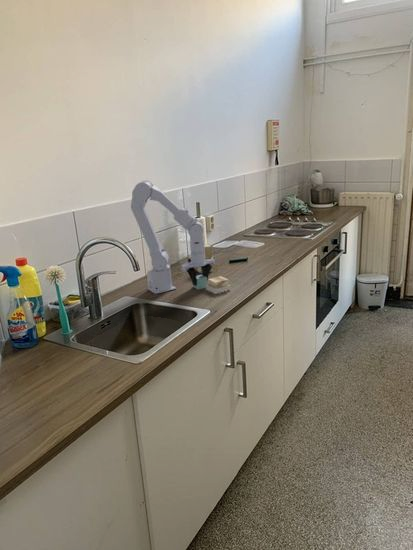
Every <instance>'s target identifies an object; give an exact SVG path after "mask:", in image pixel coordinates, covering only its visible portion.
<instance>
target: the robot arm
mask: <svg viewBox="0 0 413 550" xmlns="http://www.w3.org/2000/svg"><path fill="white" fill-rule="evenodd" d="M131 193H132V196H131V197H132V198H131V203H130V210H131V212H132V214H133V216H134V218H135V221H136V222H137V225H138V228H139V229H140V231H141V234H142V236H143V238H144V241H145V243H146V245H147V247H148V249H149V255H150V258H151V266H152V269H151V270H148V271H147V273H146V279H147V287H148V288H147V290H149V292H151V293H152V294H155V295H156V294H160V293H161V294H162V293H165V292H169V291H173V290H174V291H175V290H176V289H177V287H176V286H173V283H172V272H171V265H170V264H169V262H170V254H169V252H168V251H167V250H165V248H164V246H163V244H161V242H160V239H159V237H158V235H157V232H156V231H155V228H154V225H153V224H152V221H151V220H150V217H149V214H148V212H147V210H146V208H145V207H146V205H147V202H148V200H150V201H153V202H154V201H156V202H158V203H160V204H161V206H163V207H164V208H165V209H167V211H169V212H170V213H171V214H173V220H174V221H175V222H177V224H179V225H180V226H181V227H182V228H183V229H184V230H186V231H188V235H189V239H190V240H189V247H190V262H187V263H184V264H181V271H185V272H186V273H188V274H187V275H188V276H189V277H190V279H191V283H192V286H193V285H195V286H196V285H197V280H196V276H198V275H197V274H198V267H201V269H202V273H201V275H203V276H206V277H207V281H208V279H209V276H210V273H211V272H210V270H211V269H212V270H213V265H216V260H215V258H212V259H206V260H205V247H204V245H205V240H204V237H205V236H204V225H203V224H202V222H201V221H200V220H198V218H195V217H194V216H193V215H192V214H191V213H189V212H190V210H188V208H186V209H185V208H184V207H178V206H177V204H175V203H174V202H173V200H171V198H169V197H168V196H167V195H166V194H165V193H164V192H163V191H162V190H161V189H160V188H159V187H157V186H156V185H154V184H153V183H152V182H151V181H149V180H143V181H141V182H138V183H137V184H136V185H135V187H134V188H133V189H132V192H131ZM210 264H212V266H210ZM196 268H197V270H196Z"/></svg>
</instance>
